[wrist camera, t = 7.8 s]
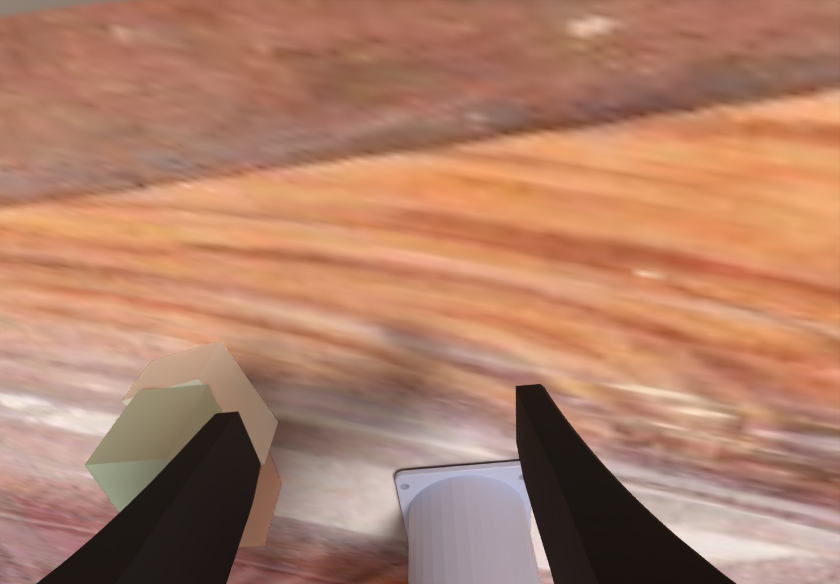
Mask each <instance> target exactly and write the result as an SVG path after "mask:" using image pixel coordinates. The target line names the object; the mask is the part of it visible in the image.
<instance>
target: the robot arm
mask: <svg viewBox="0 0 840 584" xmlns="http://www.w3.org/2000/svg"><path fill="white" fill-rule="evenodd" d="M516 443H517V448H518V453H519V459H520V461H513V462H501V463H489V464H477V465H465V466H453V467H441V468H429V469H416V470H404V471H399V472H398V473H397V474H396V476H395V482H396V487H397V492H398V496H399V501H400V506H401V510H402V515H403V519H404V524H405V529H406V533H407V538H408V543H409V563H408V584H541V580H540V575H539V570H538V566H537V561H536V557H535V552H534V548H533V543H532V539H531V534H530V533H531V507H532V510H533V513H534V517H535V520H536V523H537V527H538V530H539V533H540V537H541V540H542V543H543V546H544V550H545V553H546V556H547V560H548V563H549V566H550V570H551V573H552V577H553V581H554V584H736V583H735V582H733V581H732V580H731V579H729V578H728V577H727V576H725V575H724V574H723V573H721V572H720V571H719V570H718V569H716V568H715V567H714V566H713V565H712V564H710V563H709V562H708V561H707V560H705V559H704V558H703V557H702V556H701V555H699V554H698V553H697V552H696V551H694V550H693V549H692V548H691V547H690V546H688V545H687V544H686V543H685V542H683V541H682V540H681V539H680V538H678V537H677V536H676V535H675V534H674V533H673V532H672V531H671V530H669V529H668V528H667V527H666V526H665V525H664V524H663V523H662V522H661V521H659V520H658V519H657V518H656V517H655V516H654V515H653V514H652V513H651V512H650V511H649V510H648V509H646V508H645V507H644V506H643V505H642V504H641V503H640V502H639V501H638V500H637V499H636V498H635V497H634V496H633V495H632V494H631V493H630V492H629V491H628V490H627V489H626V488H625V487H624V486H623V485H622V484H621V483H620V482H619V481H618V480H617V479H616V477H615V476H614V475H613V474H612V473H611V472H610V471H609V470H608V469H607V468H606V467H605V466H604V464H603V463H602V462H601V461H600V460H599V459H598V458H597V456H596V455H595V454H594V453H593V452H592V451H591V449H590V448H589V447H588V446H587V445H586V443H585V442H584V441H583V440H582V438H581V437H580V436H579V435H578V434H577V432H576V431H575V430H574V429H573V427H572V426H571V425H570V423H569V422H568V421H567V419H566V418H565V417H564V415H563V414H562V413H561V411H560V410H559V408H558V407H557V406H556V404H555V403H554V401H553V400H552V398H551V397H550V395H549V394H548V392H547V391H546V389H545V387H543V386H542V385H541V384H535V385H524V386H516ZM260 466H261V463H260V460H259V458H258V456H257V453H256V451H255V449H254V446H253V444H252V442H251V439H250V437H249V435H248V432H247V430H246V428H245V425H244V423H243V421H242V419H241V416H240V414H239V412H238V411H236V412H225V413H216V414H215V415H214V416H213V417H212V418H211V419H210V420H209V421H208V422H207V423H206V424H205V425H204V426H203V427H202V428H201V429H200V430H199V431H198V432H197V433H196V435H195V436H194V437H193V438H192V439H191V440H190V441H189V442H188V443H187V444H186V445H185V446H184V447H183V449H182V450H181V451H180V452H179V453H178V454H177V455H176V456H175V457H174V458H173V459H172V460H171V461H170V462H169V463H168V464H167V466H166V467H165V468H164V469H163V470H162V471H161V472H160V473H159V474H158V475H157V476H156V477H155V478H154V479H153V480H152V481H151V482H150V483H149V484H148V485H147V486H146V487H145V488H144V489H143V490H142V491H141V492H140V493H139V494H138V495H137V496H136V497H135V498H134V499H133V500H132V501H131V502H130V503H129V504H128V505H127V506H126V507H125V508H124V509H123V510H122V511H121V512H120V513H119V514H118V515H117V516H116V517H115V518H114V519H112V520H111V521H110V522H109V523H108V524H107V525H106V526H105V527H104V528H103V529H102V530H100V531H99V532H98V533H97V534H96V535H95V536H94V537H93V538H92V539H90V540H89V541H88V542H87V543H86V544H85V545H83V546H82V547H81V548H80V549H79V550H78V551H76V552H75V553H74V554H73V555H72V556H71V557H69V558H68V559H67V560H66V561H65V562H63V563H62V564H61V565H60V566H58V567H57V568H56V569H55V570H53V571H52V572H51V573H49V574H48V575H47V576H46V577H44V578H43V579H42V580H40V581H39V582H38V583H37V584H226V582H227V579H228V576H229V574H230V571H231V568H232V565H233V562H234V559H235V556H236V553H237V550H238V547H239V544H240V541H241V538H242V535H243V532H244V529H245V526H246V523H247V520H248V517H249V514H250V511H251V508H252V505H253V501H254V496H255V492H256V487H257V482H258V477H259V471H260Z"/></svg>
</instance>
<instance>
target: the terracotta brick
mask: <svg viewBox="0 0 840 584" xmlns="http://www.w3.org/2000/svg"><path fill="white" fill-rule="evenodd" d="M281 485H282V483H281V481H280V478H279V475H278V473H277V470H276V467H275V465H274V462H273V459H272V457H271V454H270V451H269V452H268V455H267V458H266V461H265V464H264V465H261V466H260V471H259V477H258V482H257V487H256V492H255V496H254V501H253V505H252V508H251V511H250V514H249V517H248V520H247V523H246V526H245V529H244V532H243V535H242V538H241V541H240V544H239V547H238V548H241V547H257V546H265V542H266V539H267V535H268V531H269V528H270V524H271V521H272V517H273V514H274V510H275V506H276V503H277V499H278V496H279V492H280V488H281Z"/></svg>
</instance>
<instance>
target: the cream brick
mask: <svg viewBox="0 0 840 584" xmlns="http://www.w3.org/2000/svg"><path fill="white" fill-rule="evenodd" d="M203 384H208V385H209V387H210V390H211V392H212V394H213V396H214V398H215V400H216V403H217V405H218V407H219V409H220V411H221V413H225V412H236V411H238V412H239V414H240V416H241V419H242V421H243V423H244V425H245V428H246V430H247V432H248V435H249V437H250V439H251V442H252V444H253V446H254V449H255V451H256V453H257V456H258V458H259V460H260V463H261V465H264V464H265V461H266V458H267V455H268V452H269V449H270V446H271V443H272V440H273V437H274V434H275V431H276V428H277V425H278V421H277V420H276V418H275V417H274V416H273V414H272V413H271V411H270V410H269V408H268V407H267V406H266V404H265V403H264V401H263V400H262V398H261V397H260V396H259V394H258V393H257V391H256V390H255V388H254V387H253V385H252V384H251V383H250V381H249V380H248V378H247V377H246V375H245V374H244V373H243V371H242V370H241V368H240V367H239V365H238V364H237V363H236V361H235V360H234V358H233V357H232V355H231V354H230V353H229V351H228V350H227V348H226V347H225V345H224V344H223V342H222V341H221V340H220V341H216V342H213V343H210V344H206V345H203V346H200V347H196V348H193V349H190V350H186V351H183V352H180V353H176V354H173V355H170V356H166V357H163V358H160V359H156V360H153V361H151V362H150V363H149V364H148V366H147V367H146V368H145V370H144V371H143V372H142V374H141V375H140V377H139V378H138V379H137V381H136V382H135V383H134V385H133V386H132V387H131V389H130V390H129V391H128V393H127V394H126V395H125V397H124V398H123V399H122V402H123V403H124V404H125V406H126V407H127V406H128V404H129V403H130V401H131V400H132V399H133V397H134V396H135V395H136V393H137V392H138V391H139V390H149V389H160V388H171V387H182V386H193V385H203Z"/></svg>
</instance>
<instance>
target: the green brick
mask: <svg viewBox="0 0 840 584" xmlns="http://www.w3.org/2000/svg"><path fill="white" fill-rule="evenodd" d="M216 413H221V411H220V409H219V407H218V405H217V403H216V400H215V398H214V396H213V394H212V392H211V390H210V387H209V385H208V384H203V385H193V386H182V387H171V388H160V389H149V390H139V391H138V392H137V393H136V395H135V396H134V397H133V399H132V400H131V401H130V403H129V404H128V406H127V407H126V408H125V410H124V411H123V413H122V414H121V415H120V417H119V418H118V419H117V421H116V422H115V424H114V425H113V426H112V428H111V429H110V431H109V432H108V433H107V435H106V436H105V437H104V439H103V440H102V442H101V443H100V444H99V446H98V447H97V449H96V450H95V451H94V453H93V454H92V455H91V457H90V458H89V460H88V461H87V462H86V464H85V467H86V468H87V469H88V471H89V472H90V473H91V475H92V476H93V478H94V479H95V480H96V482H97V483H98V484H99V486H100V487H101V489H102V490H103V491H104V493H105V494H106V495H107V497H108V498H109V499H110V501H111V502H112V504H113V505H114V506H115V508H116V509H117V510H118V512H119V513H120V512H121V511H122V510H123V509H124V508H125V507H126V506H127V505H128V504H129V503H130V502H131V501H132V500H133V499H134V498H135V497H136V496H137V495H138V494H139V493H140V492H141V491H142V490H143V489H144V488H145V487H146V486H147V485H148V484H149V483H150V482H151V481H152V480H153V479H154V478H155V477H156V476H157V475H158V474H159V473H160V472H161V471H162V470H163V469H164V468H165V467H166V466H167V464H168V463H169V462H170V461H171V460H172V459H173V458H174V457H175V456H176V455H177V454H178V453H179V452H180V451H181V450H182V449H183V447H184V446H185V445H186V444H187V443H188V442H189V441H190V440H191V439H192V438H193V437H194V436H195V435H196V433H197V432H198V431H199V430H200V429H201V428H202V427H203V426H204V425H205V424H206V423H207V422H208V421H209V420H210V419H211V418H212V417H213V416H214V415H215V414H216Z"/></svg>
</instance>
